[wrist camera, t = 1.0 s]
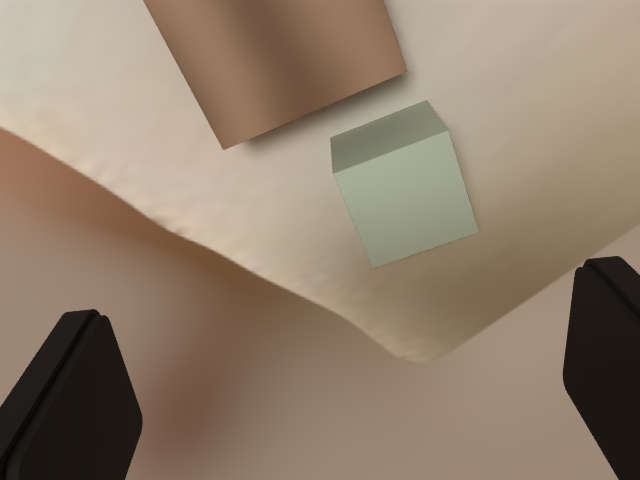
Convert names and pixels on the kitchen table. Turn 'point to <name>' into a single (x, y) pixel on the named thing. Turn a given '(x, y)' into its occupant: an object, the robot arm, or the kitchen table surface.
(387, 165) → the green cube
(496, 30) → the kitchen table surface
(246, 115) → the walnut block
